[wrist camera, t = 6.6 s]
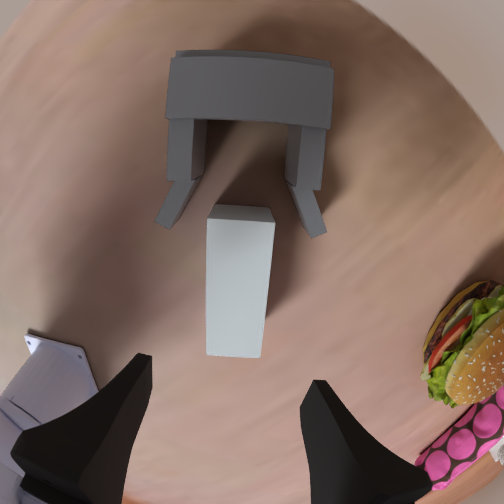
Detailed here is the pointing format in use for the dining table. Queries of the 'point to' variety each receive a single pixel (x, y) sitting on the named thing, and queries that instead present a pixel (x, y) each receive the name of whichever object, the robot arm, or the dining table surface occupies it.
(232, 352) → the white rectangular block
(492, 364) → the food
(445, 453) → the pencil case
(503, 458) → the mug
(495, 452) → the bracket
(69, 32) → the dining table surface
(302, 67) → the endcap
